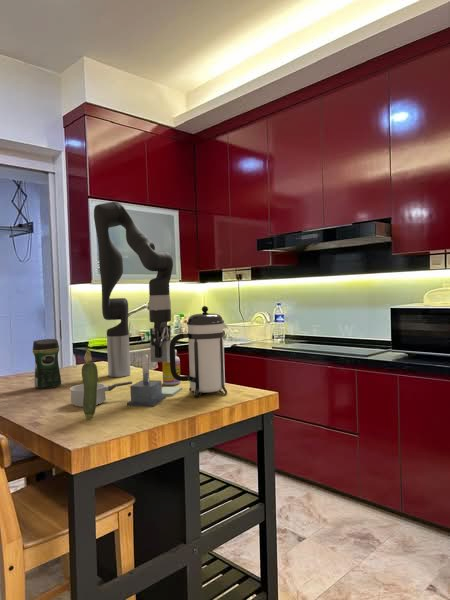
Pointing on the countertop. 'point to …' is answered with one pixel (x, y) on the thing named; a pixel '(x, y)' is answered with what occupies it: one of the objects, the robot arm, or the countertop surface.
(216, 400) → the countertop surface
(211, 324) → the coffee press
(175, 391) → the pad
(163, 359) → the collar
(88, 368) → the vegetable
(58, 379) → the coffee jar
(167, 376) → the supplement bottle
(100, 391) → the saucepan
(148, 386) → the grey peg stand
